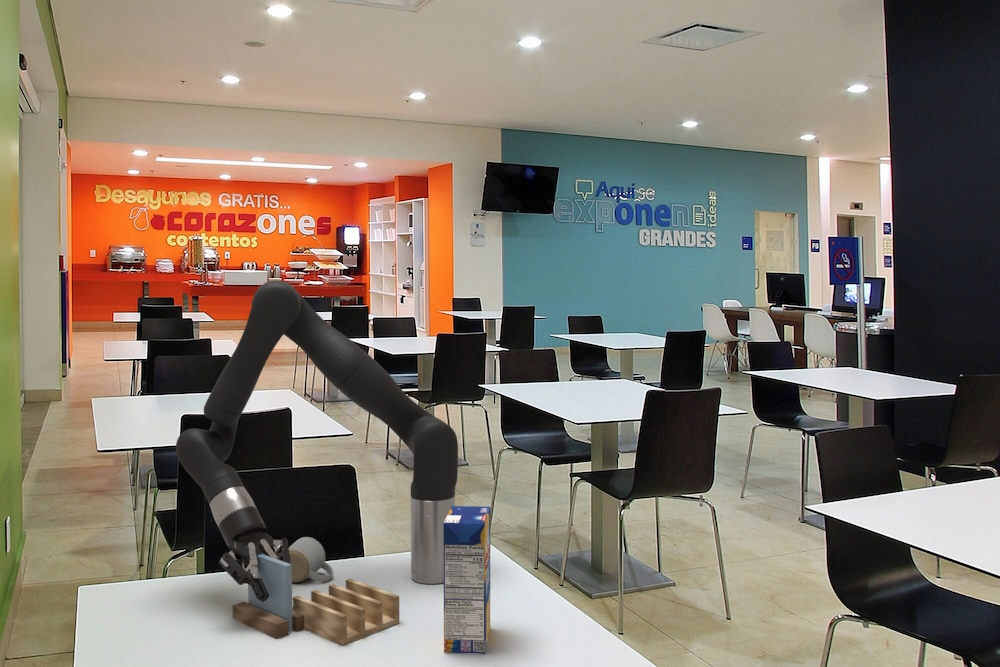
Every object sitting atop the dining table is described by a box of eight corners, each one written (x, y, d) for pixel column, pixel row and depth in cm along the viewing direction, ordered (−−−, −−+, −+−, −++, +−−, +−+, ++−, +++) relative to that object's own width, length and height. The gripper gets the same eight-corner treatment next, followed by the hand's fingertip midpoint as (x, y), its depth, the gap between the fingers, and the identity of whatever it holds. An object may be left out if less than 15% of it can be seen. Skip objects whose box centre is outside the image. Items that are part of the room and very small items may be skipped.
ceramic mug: (275, 583, 177) (275, 546, 176) (292, 570, 185) (292, 535, 185) (324, 587, 175) (324, 550, 174) (339, 574, 183) (339, 538, 183)
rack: (293, 624, 156) (292, 597, 155) (350, 604, 166) (349, 578, 165) (342, 645, 147) (342, 616, 146) (399, 623, 156) (399, 595, 156)
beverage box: (443, 653, 144) (443, 522, 142) (452, 626, 155) (452, 505, 153) (484, 654, 143) (484, 523, 142) (490, 628, 154) (490, 506, 153)
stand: (232, 618, 159) (232, 605, 158) (263, 608, 163) (263, 595, 163) (277, 639, 149) (276, 624, 149) (308, 627, 154) (308, 613, 154)
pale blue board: (248, 615, 160) (247, 552, 159) (254, 614, 161) (253, 550, 160) (286, 633, 152) (285, 566, 151) (292, 631, 153) (291, 564, 152)
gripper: (210, 513, 155) (249, 595, 148) (277, 498, 165) (317, 574, 158) (195, 536, 159) (233, 618, 151) (262, 520, 169) (300, 596, 162)
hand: (275, 595), depth 155 cm, fingers open, 3 cm apart
